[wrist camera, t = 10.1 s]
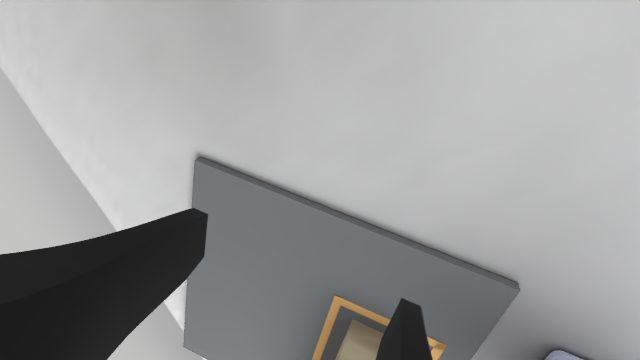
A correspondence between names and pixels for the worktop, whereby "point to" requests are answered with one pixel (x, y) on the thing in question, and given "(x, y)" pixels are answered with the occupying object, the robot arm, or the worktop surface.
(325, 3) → the worktop surface
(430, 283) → the rubber mat
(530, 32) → the worktop surface
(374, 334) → the cream block
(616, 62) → the worktop surface
